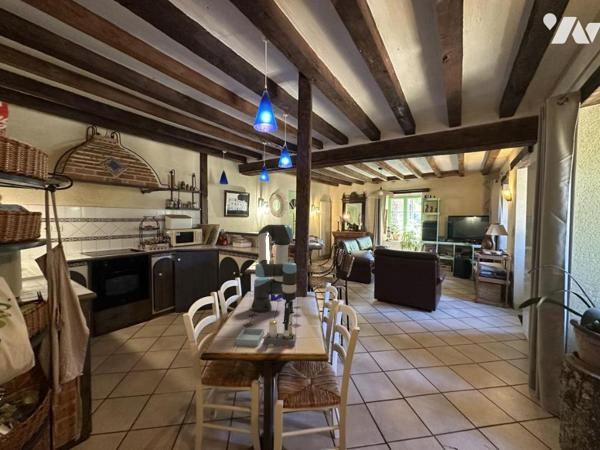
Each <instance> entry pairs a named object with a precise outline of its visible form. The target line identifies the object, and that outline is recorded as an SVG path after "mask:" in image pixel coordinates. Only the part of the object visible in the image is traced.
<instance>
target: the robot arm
mask: <svg viewBox="0 0 600 450" xmlns="http://www.w3.org/2000/svg"><path fill="white" fill-rule="evenodd" d="M293 234H294V233H293V227H292V225H291V224H267V225H265V226H263V227H262V228H260V230H259V231H258V233H257V235H256V237H257V238H256V239H257V242H258V263H256V264H255V269H254V270H255V274H254V276H255V277H256V278H255V279H254V282H253V300H252V303H251V305H250V307H251V308H250V309H251V311H252V312H255V313H266V312H269V311H271V310H272V309H273V307H272V306H273V304H272V302H271V295H275V296H278V295H282V297H281V299H282V300H284V301H285V302H284V312H283V321H282V324H283V334H284V336H289V321H291V322H292V325H293V321H294V319H293V314H295V311H294V301H295V300H296V299H297V292H296V291H297V272H298V271H297V264H296V263H295V262H292V261H290V262H288V255H289V246H290V245H291V242H293V241H294V235H293ZM271 242H273V243H274V245H275V263H272V249H271V248H272V247H271Z"/></svg>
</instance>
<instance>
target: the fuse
mask: <svg viewBox="0 0 600 450" xmlns="http://www.w3.org/2000/svg"><path fill="white" fill-rule="evenodd" d="M268 322H269V323H268V333H269V338H274V339H277V333H278V320H275V319H271V320H269V321H268Z"/></svg>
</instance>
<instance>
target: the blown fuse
mask: <svg viewBox="0 0 600 450" xmlns="http://www.w3.org/2000/svg"><path fill="white" fill-rule="evenodd" d="M292 334H293V324H292V322H291V321H289V336H284V339H289V340H292Z"/></svg>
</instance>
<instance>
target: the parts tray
mask: <svg viewBox="0 0 600 450" xmlns="http://www.w3.org/2000/svg"><path fill="white" fill-rule="evenodd" d="M264 335H265V328H252V327H251V328H250V327H244V328H243V329H242V330H241V331H240V333H239V334H238V335H237V337H236V338H235V345H240V346H253V347H255V346H256V347H259V344H260V343H261V341H262V339H263V337H264Z"/></svg>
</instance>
